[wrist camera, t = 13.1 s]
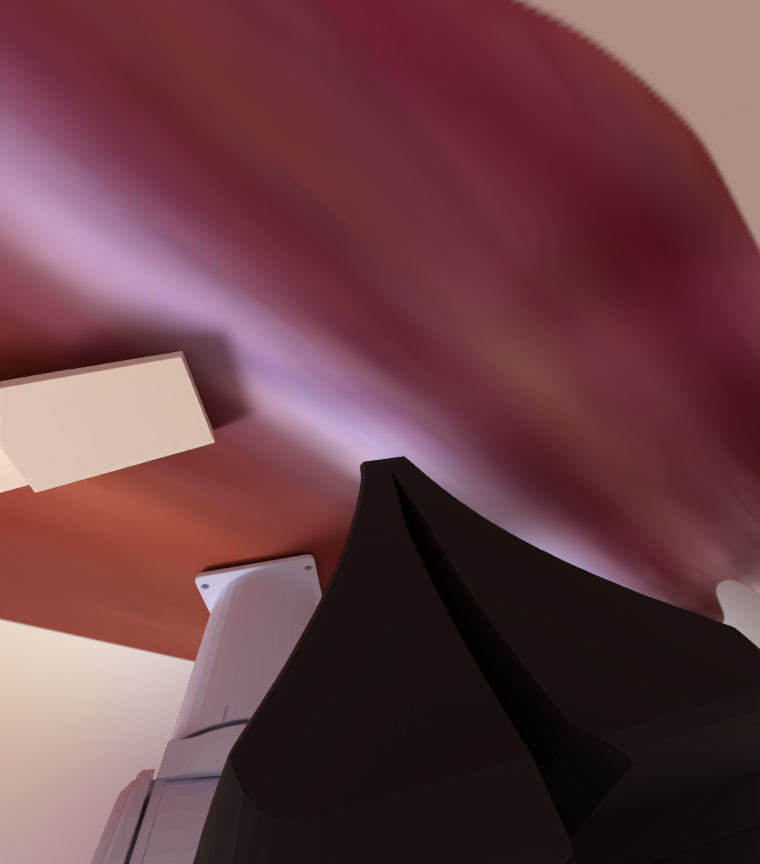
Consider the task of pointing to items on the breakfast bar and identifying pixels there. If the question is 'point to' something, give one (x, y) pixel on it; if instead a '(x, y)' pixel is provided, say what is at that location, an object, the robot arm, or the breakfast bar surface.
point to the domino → (100, 418)
